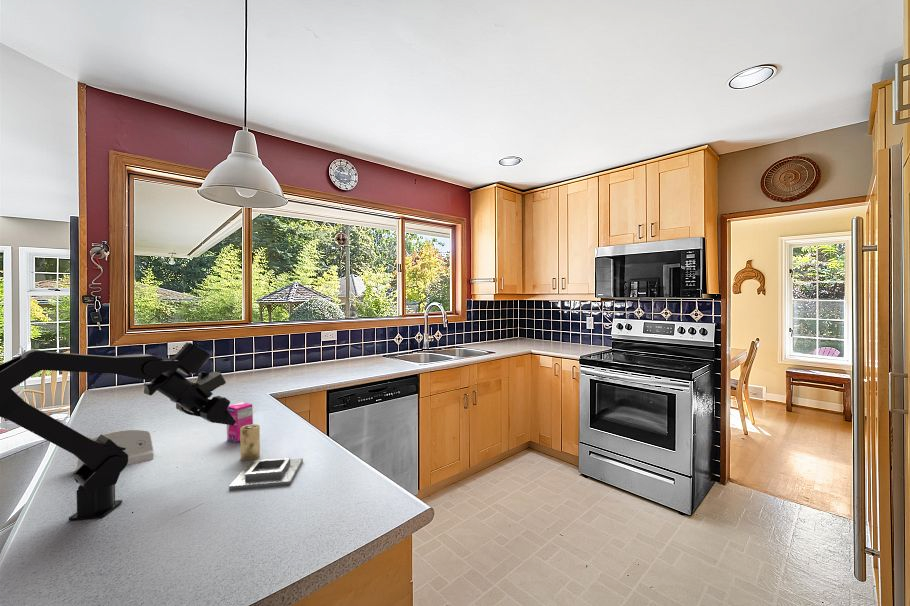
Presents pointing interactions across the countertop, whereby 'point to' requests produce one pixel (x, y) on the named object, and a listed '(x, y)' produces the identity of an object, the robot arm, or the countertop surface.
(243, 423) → the supplement box
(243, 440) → the brass cylinder
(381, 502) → the countertop surface
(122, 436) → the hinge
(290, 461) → the flange plate
